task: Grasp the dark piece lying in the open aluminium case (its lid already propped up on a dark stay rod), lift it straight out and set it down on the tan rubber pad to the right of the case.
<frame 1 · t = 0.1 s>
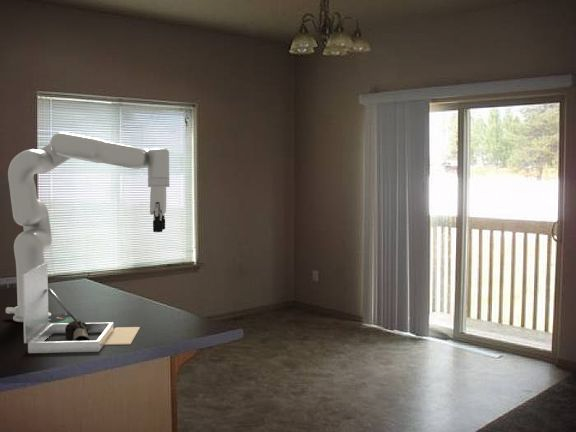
hand: (159, 230, 224), 31 cm above the worktop, tool pointing down, fingers open, 9 cm apart
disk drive: (59, 326, 214), on the worktop
case: (73, 341, 193), on the worktop
pad: (122, 336, 199), on the worktop
dark piece: (77, 342, 193), resting in case
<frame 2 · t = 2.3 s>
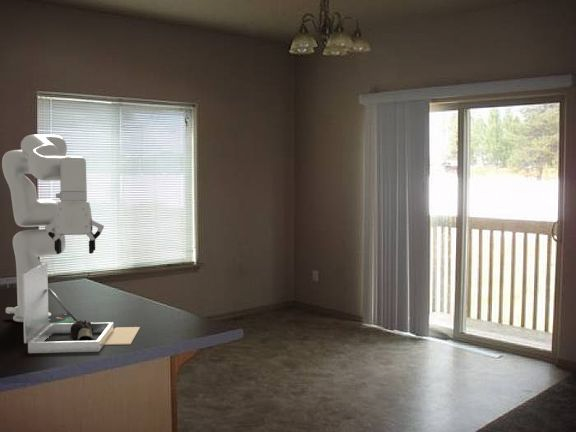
hand: (75, 253, 191), 27 cm above the worktop, tool pointing down, fingers open, 9 cm apart
dark piece: (82, 342, 193), resting in case
everything else where it was.
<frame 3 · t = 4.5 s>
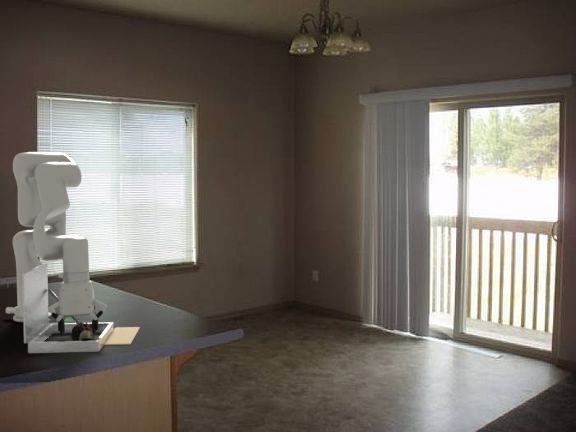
hand: (78, 332, 192), 3 cm above the worktop, tool pointing down, fingers open, 9 cm apart
dark piece: (84, 345, 192), resting in case, touching gripper
everything else where it was.
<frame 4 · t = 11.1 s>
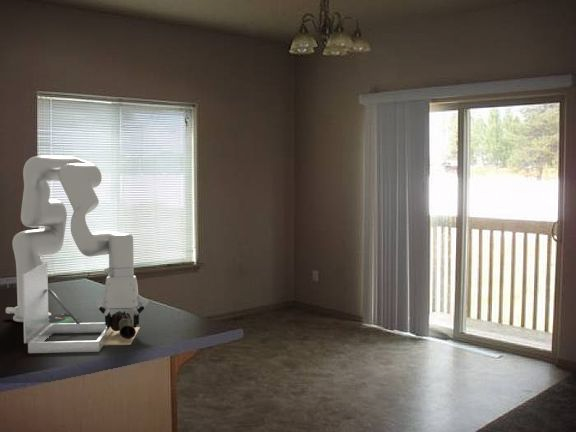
hand: (122, 326, 199), 3 cm above the worktop, tool pointing down, fingers closed on dark piece, 7 cm apart
dark piece: (122, 332, 198), point 2 cm above the worktop, touching gripper
everything else where it was.
when the fingers open (3 cm above the worktop, at t = 12.1 s): dark piece drops 1 cm, resting on pad.
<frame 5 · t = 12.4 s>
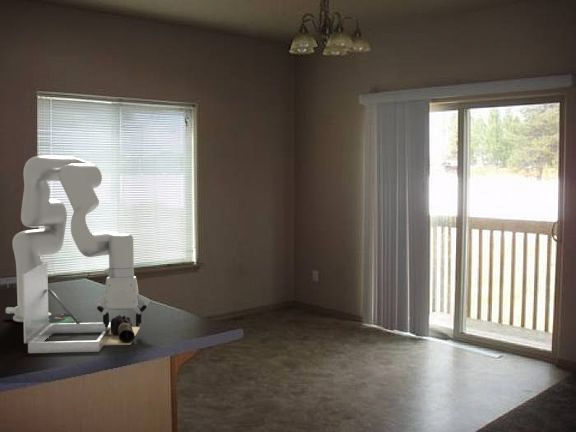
hand: (122, 326, 199), 3 cm above the worktop, tool pointing down, fingers open, 9 cm apart
dark piece: (122, 336, 198), resting on pad
everything else where it was.
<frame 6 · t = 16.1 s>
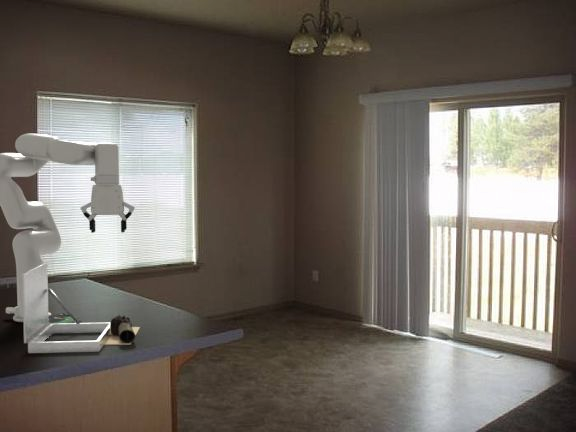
hand: (108, 232, 207), 32 cm above the worktop, tool pointing down, fingers open, 9 cm apart
nothing on the worktop moved.
at the end: dark piece inside the target area on the pad (1.7 cm from its centre), point 0.2 cm above the pad's base; dark piece resting on pad; dark piece touching pad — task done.
